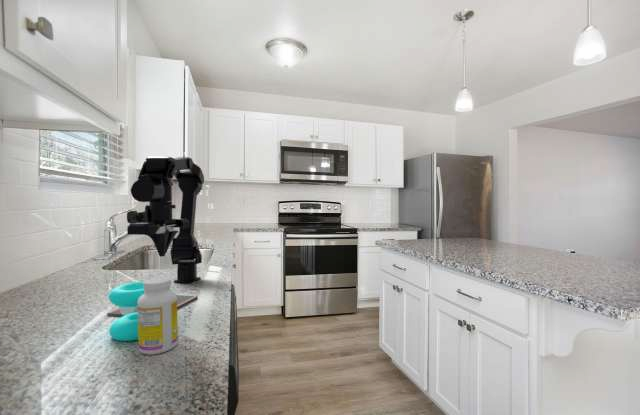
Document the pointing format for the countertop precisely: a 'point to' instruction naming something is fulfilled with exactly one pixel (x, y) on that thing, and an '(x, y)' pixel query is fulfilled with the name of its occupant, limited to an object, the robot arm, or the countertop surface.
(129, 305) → the donuts
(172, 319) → the supplement bottle
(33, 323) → the countertop surface
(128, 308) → the pill bottle
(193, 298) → the mat
